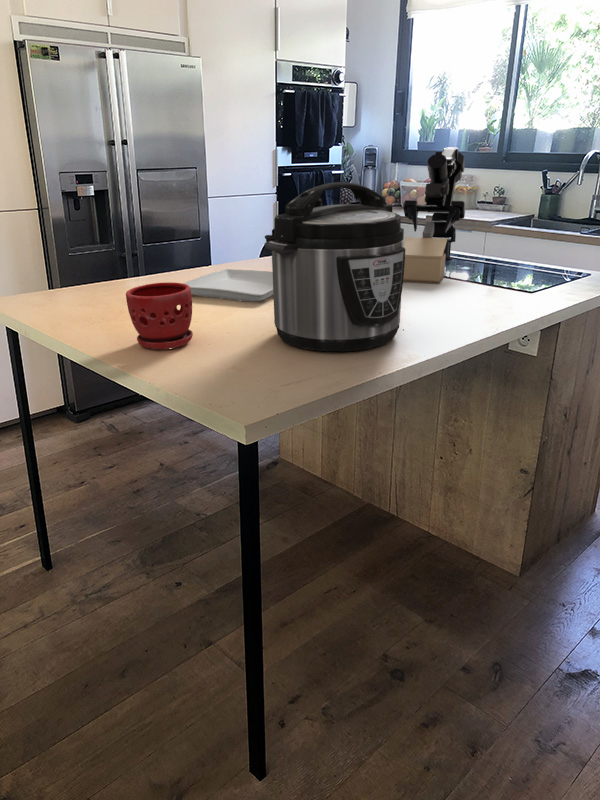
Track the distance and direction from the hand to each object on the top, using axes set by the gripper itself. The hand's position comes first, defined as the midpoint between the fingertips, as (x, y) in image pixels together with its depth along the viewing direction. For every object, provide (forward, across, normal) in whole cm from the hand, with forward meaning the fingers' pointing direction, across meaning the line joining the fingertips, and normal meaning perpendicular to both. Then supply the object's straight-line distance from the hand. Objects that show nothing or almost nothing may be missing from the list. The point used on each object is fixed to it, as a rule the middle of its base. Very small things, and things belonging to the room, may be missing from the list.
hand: (429, 231), depth 198 cm
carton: (+16, 0, +2) cm, 17 cm away
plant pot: (+74, -40, -57) cm, 102 cm away
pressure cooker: (+63, -6, -46) cm, 78 cm away
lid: (+7, 0, -2) cm, 8 cm away
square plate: (+38, -46, -19) cm, 62 cm away
